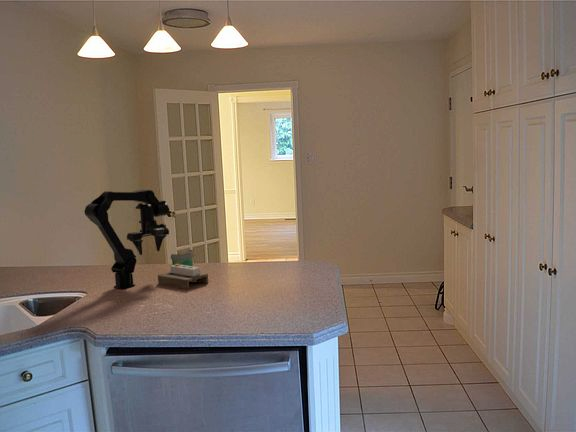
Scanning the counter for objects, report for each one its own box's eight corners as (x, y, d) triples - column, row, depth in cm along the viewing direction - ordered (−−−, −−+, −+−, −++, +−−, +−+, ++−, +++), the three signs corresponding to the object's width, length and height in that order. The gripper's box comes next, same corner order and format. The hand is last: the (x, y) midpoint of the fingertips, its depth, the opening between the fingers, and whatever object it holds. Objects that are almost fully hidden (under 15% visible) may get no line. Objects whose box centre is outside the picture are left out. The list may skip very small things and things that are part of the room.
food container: (180, 277, 234) (179, 255, 233) (171, 275, 238) (170, 254, 236) (200, 271, 244) (199, 250, 242) (191, 269, 247) (190, 249, 246)
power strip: (193, 283, 219) (192, 268, 218) (171, 279, 227) (170, 264, 226) (200, 281, 222) (199, 266, 221) (178, 277, 230) (177, 262, 229)
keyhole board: (187, 289, 213) (186, 280, 213) (158, 284, 224) (157, 275, 223) (208, 282, 223) (207, 273, 222) (179, 277, 233) (178, 269, 233)
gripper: (140, 222, 217) (143, 258, 219) (175, 216, 231) (178, 251, 233) (124, 220, 224) (127, 256, 226) (160, 215, 238) (162, 248, 240)
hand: (149, 253), depth 231 cm, fingers open, 9 cm apart
